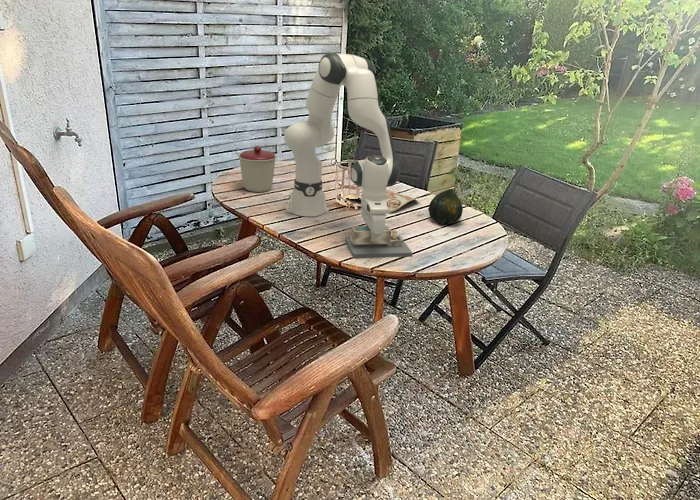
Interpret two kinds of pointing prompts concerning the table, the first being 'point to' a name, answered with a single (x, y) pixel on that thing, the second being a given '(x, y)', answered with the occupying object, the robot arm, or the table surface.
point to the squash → (446, 207)
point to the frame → (363, 235)
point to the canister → (257, 169)
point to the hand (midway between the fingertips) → (370, 237)
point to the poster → (396, 200)
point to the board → (379, 249)
